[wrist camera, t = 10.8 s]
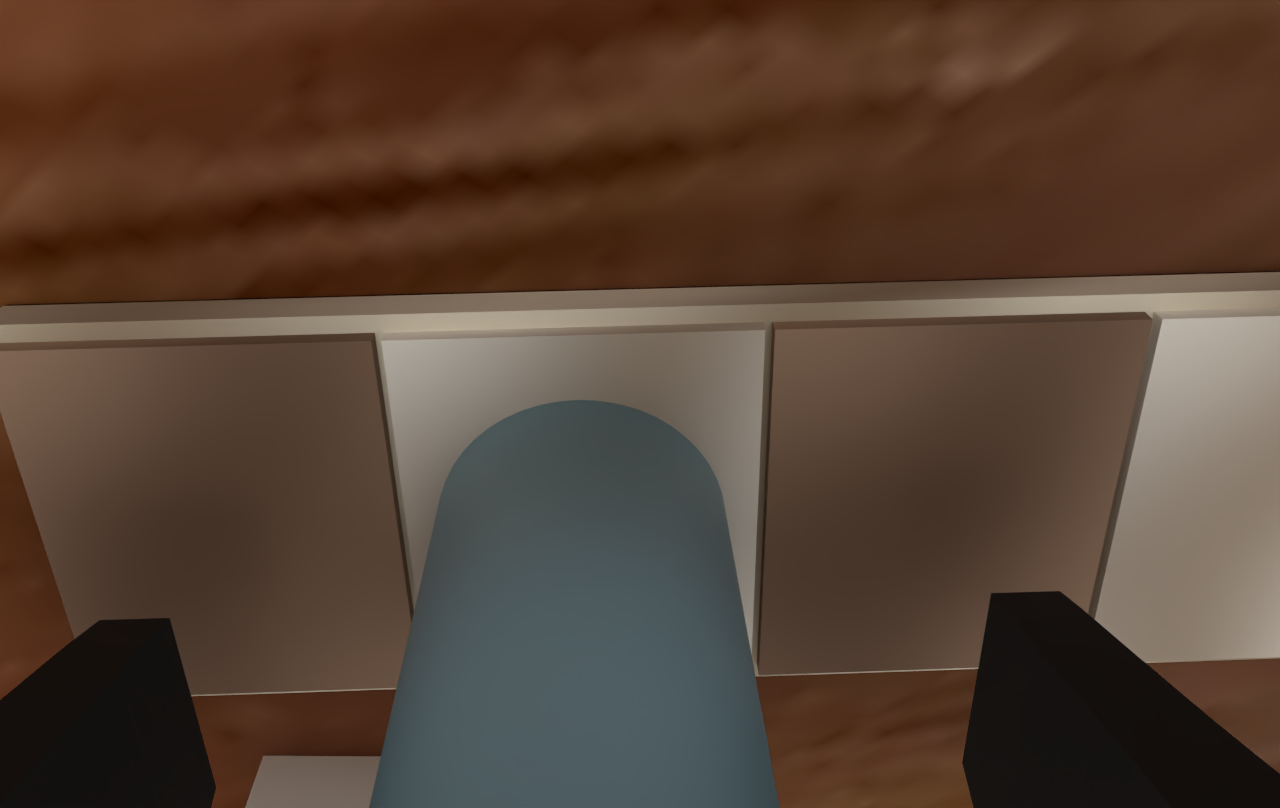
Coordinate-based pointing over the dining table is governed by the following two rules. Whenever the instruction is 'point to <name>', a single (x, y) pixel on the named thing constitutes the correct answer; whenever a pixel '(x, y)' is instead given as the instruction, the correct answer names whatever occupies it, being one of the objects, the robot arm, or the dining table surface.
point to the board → (710, 419)
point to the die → (314, 782)
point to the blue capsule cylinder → (578, 629)
